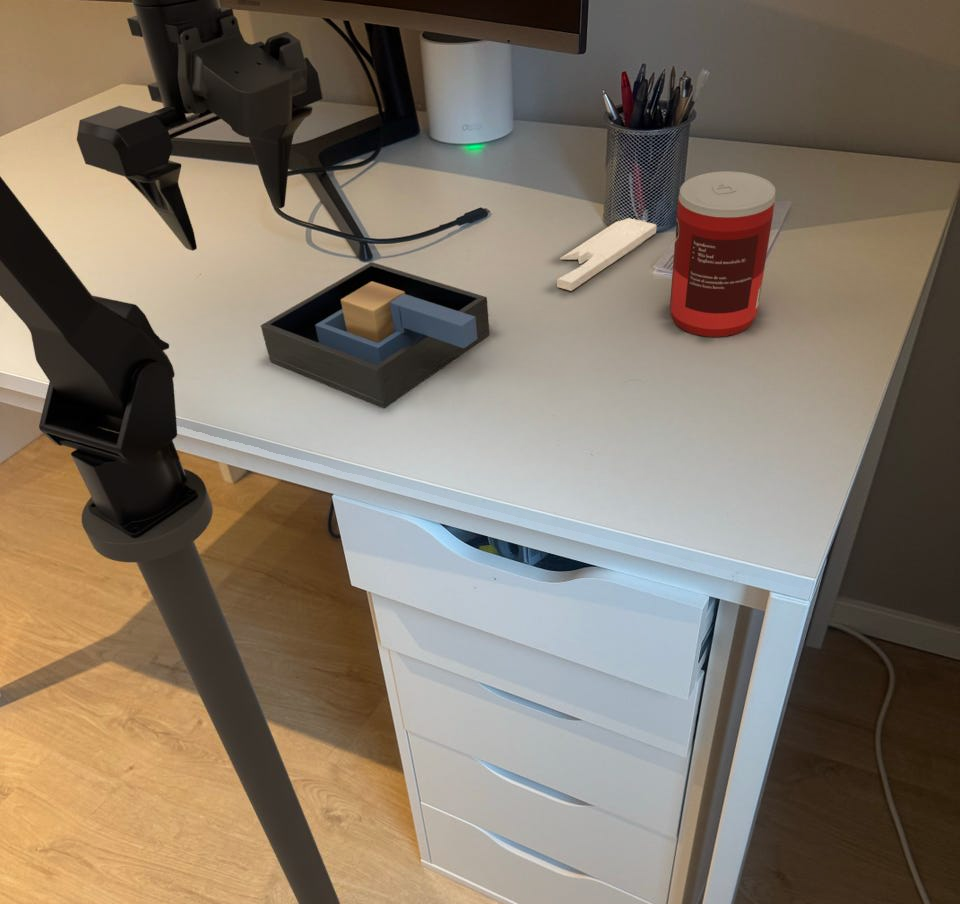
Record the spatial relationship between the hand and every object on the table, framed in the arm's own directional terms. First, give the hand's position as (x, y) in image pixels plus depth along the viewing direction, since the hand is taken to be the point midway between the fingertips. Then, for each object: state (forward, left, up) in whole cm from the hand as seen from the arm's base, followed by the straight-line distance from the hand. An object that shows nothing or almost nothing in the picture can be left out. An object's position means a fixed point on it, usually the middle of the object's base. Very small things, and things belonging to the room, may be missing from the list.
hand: (236, 227), depth 73 cm
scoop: (+7, -11, -11) cm, 17 cm away
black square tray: (+7, -7, -12) cm, 15 cm away
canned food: (+27, -30, -12) cm, 42 cm away
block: (+7, -7, -11) cm, 15 cm away
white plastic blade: (+32, -14, -12) cm, 37 cm away
